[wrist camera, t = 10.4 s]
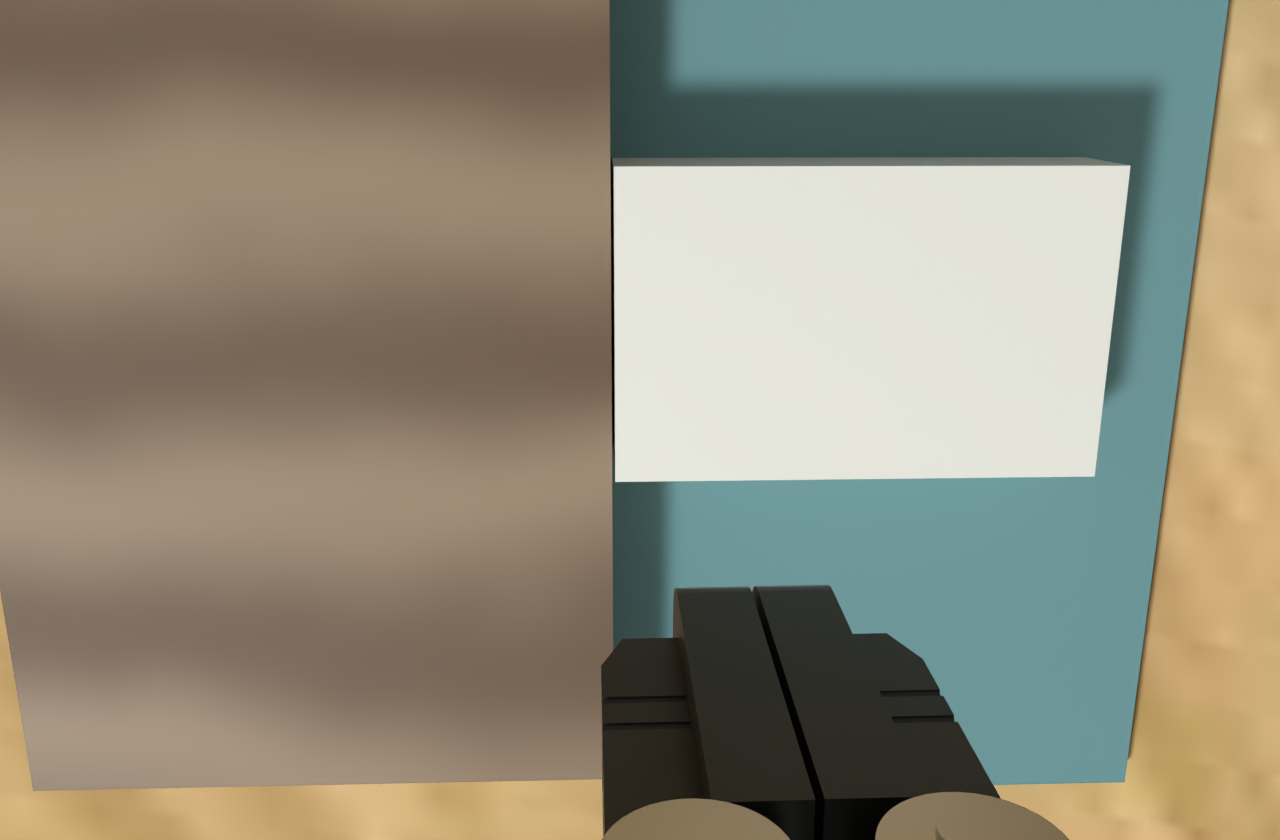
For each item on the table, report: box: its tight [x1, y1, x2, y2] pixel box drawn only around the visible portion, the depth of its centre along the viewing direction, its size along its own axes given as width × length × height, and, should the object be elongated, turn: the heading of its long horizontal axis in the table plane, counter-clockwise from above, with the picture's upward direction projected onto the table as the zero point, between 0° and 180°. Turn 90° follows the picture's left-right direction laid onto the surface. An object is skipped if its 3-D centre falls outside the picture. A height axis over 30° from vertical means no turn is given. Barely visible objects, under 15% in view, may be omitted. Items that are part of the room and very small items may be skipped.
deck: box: [0, 0, 613, 791], centre depth 27 cm, size 22×14×3 cm, turn 0°
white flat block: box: [612, 157, 1130, 482], centre depth 27 cm, size 7×11×2 cm, turn 90°
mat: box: [609, 0, 1229, 785], centre depth 29 cm, size 26×14×1 cm, turn 0°
